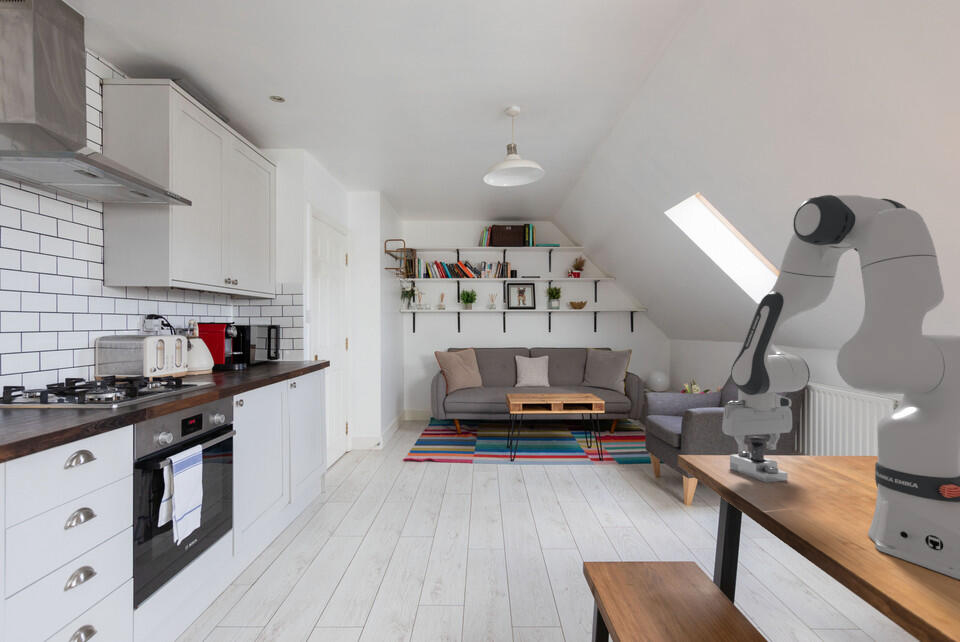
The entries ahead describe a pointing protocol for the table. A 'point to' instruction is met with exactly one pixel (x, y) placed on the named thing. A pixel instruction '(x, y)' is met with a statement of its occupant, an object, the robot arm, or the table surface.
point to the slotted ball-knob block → (756, 468)
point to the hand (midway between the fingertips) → (757, 450)
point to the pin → (757, 448)
